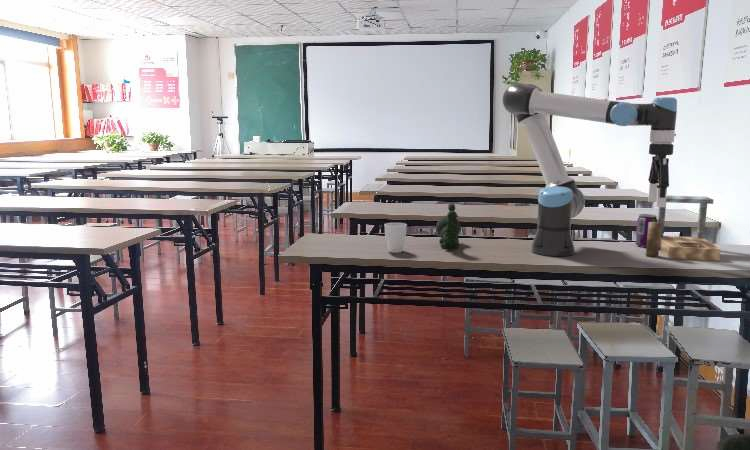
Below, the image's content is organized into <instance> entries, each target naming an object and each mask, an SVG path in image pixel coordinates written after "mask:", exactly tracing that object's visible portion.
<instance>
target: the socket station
mask: <svg viewBox="0 0 750 450" xmlns="http://www.w3.org/2000/svg"><path fill="white" fill-rule="evenodd" d="M666 203H672V204H673V203H676V204H680V203H681V204H699V205H698V206H699V208H698V220H697V227H696V228H697V230H696V236H680V235H679V236H677V235H675V236H674V235H664V233H665V231H664V230H665V222H666V221H665V220H666V218H665V217H666V210H667V204H666V205H665V207H658V213H657V220H658V222H659V223H661V230H660V241H659V251H661V252H662V253H663V255H664V256H666V257H667V258H668V259H679V260H680V259H681V260H695V261H696V260H699V261H720V259H721V258H720V257H721V250H722V249H721V248H719V247H718V246H716V245H714V244H713V243H712V242H710V241H708V240H707V239H705V231H706V230H705V229H706V220H707V209H708V204H709V205H711V204H712V205H714V199H713V198H710V197H708V196H697V195H695V196H693V195H692V196H691V195H690V196H688V195H666Z"/></svg>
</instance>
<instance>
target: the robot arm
mask: <svg viewBox="0 0 750 450" xmlns="http://www.w3.org/2000/svg"><path fill="white" fill-rule="evenodd" d="M502 105H503V107H504V109H505V110H506V111H507V112H508V113H509V114H512V115H515V118H516V121H517V123H518V126H519V125H520V126H522V127H523V128H524V130H525V133H526V135H527V137H528V140H529V143H530V145H531V149H532V150H533V153H534V156H535V158H536V162H537V164H538V166H539V169H540V172H541V174H542V177H543V180H544V182H545V187H543V188H541V189H540V190H539V192H538V197H537V202H538V204H537V226H536V227H537V228H536V232H535V235H534V237H533V241H532V243H531V247H530V249H531V250H530V251H531V252H532V253H534V254H537V255H542V256H550V257H566V256H567V257H568V256H573V255H574V254H575V243H574V240H573V237H572V233H571V230H572V229H571V227H572V226H571V225H572V218H573V219H574V218H575V217H577V216H579V214H580V213H581V212H582V211H583V209H584V207H585V204H586V203H585V202H586V200H585V195H584V194H583V192H582V191H581V189H579V188H578V186H577V184H576V181H575V178H572V177H570V176H569V175H568V172H567V169H566V166H565V164H564V161H563V159H562V157H561V154H560V152H559V148H558V146H557V144H556V143H557V142H556V141H555V138H554V136H553V133H552V131H551V129H550V125H549V123H548V120H547V116H548V115H549V116H556V117H563V118H570V119H575V120H576V119H577V120H585V121H590V122H595V123H596V122H598V123H604V124H608V125H609V124H610V125H611V124H612V125H616V126H619V127H628V126H629V127H630V126H635V127H637V126H638V127H639V126H650V132H649V142H650V144H649V148H648V155H652V157H651V159H652V160H651V165H650V171H649V176H648V183H649V187H648V196H647V197H648V199H647V203H656V205H655V208H659V207H665V205H666V206H667V202H666V196H667V193H668V187H670V172H669V171H670V170H669V162H670V158H667V156H672V155H673V153H674V144H673V143H674V142H675V137H677V133H675V131H676V122H677V113H678V110H677V109H678V100H677V98H676V97H672V96H671V97H670V96H668V97H667V96H666V97H665V96H663V97H654V98H653V100H652V103H651V102H650V103H631V102H627V101H617V100H608V99H602V98H601V99H600V98H593V97H586V96H585V97H584V96H580V95H578V96H577V95H572V94H571V95H570V94H564V93H563V94H562V93H555V92H554V93H553V92H547V91H543V90H542V89H541V88H540V87H539V86H537V85H535V84H529V83H522V82H521V83H519V82H518V83H513V84H512V85H511V84H510V85H509V86H508V87H507V88H506V89H505V90H504V93H503V95H502Z"/></svg>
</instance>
